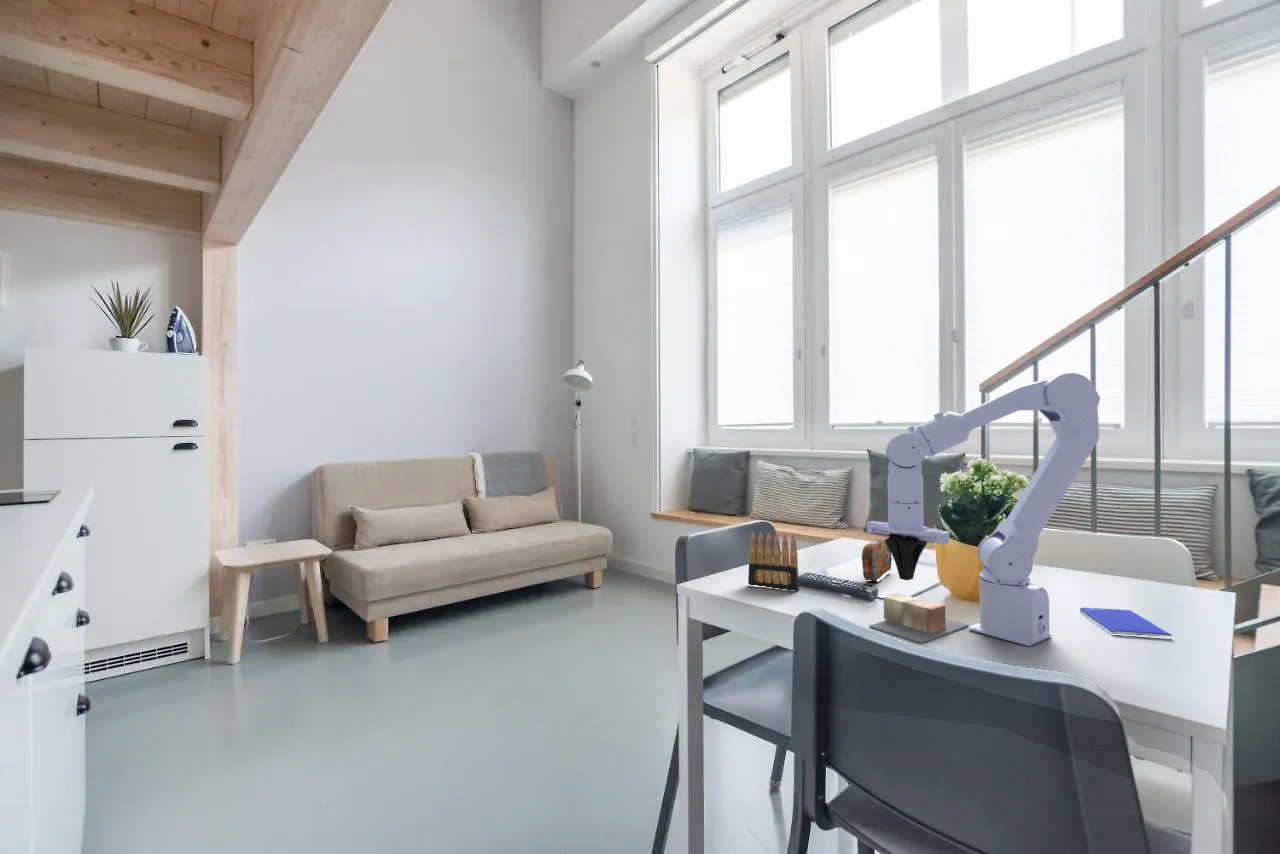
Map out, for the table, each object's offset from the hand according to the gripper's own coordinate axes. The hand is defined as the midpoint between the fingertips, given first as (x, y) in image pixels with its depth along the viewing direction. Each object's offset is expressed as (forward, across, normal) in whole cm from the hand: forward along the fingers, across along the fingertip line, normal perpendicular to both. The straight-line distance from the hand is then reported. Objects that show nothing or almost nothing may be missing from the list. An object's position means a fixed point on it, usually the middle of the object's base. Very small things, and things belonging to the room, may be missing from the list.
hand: (906, 578), depth 105 cm
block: (+6, -3, 0) cm, 6 cm away
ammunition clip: (+8, -30, -2) cm, 31 cm away
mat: (+8, +2, 0) cm, 8 cm away
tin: (+8, -22, +23) cm, 33 cm away
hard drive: (+9, +22, +29) cm, 37 cm away
